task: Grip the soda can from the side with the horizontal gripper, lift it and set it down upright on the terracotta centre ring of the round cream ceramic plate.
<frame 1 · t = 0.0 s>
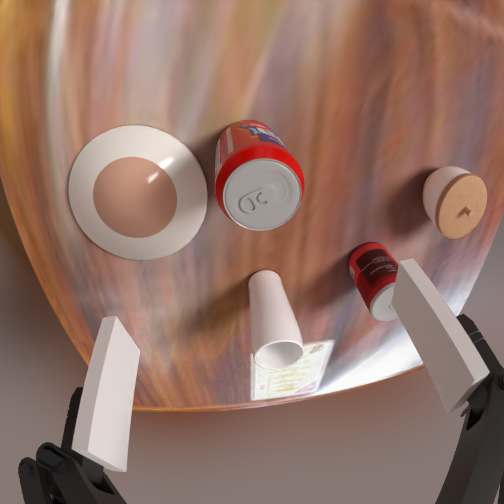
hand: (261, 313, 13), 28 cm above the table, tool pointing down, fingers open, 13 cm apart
cream plate: (135, 196, 38), on the table
soda can: (246, 147, 37), on the table
canned food: (366, 258, 49), on the table
lidded jar: (436, 186, 42), on the table
drinking glass: (264, 280, 49), on the table
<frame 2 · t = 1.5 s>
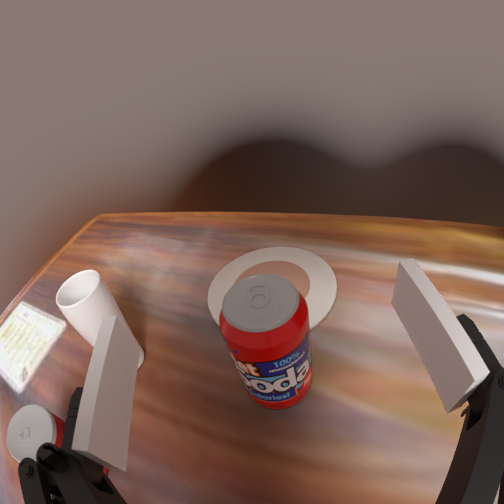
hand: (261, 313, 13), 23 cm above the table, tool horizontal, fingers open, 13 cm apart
cream plate: (271, 290, 47), on the table
soda can: (279, 384, 34), on the table
canned food: (87, 466, 26), on the table
drinking glass: (130, 361, 40), on the table
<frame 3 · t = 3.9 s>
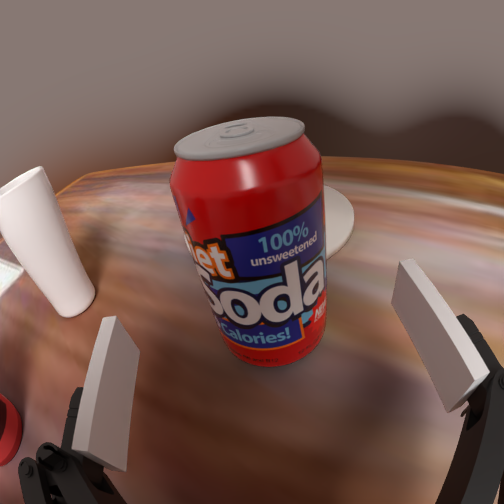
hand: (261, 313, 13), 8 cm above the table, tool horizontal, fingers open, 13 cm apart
cream plate: (268, 221, 36), on the table
soda can: (275, 332, 23), on the table
canned food: (0, 435, 15), on the table
drinking glass: (78, 304, 29), on the table
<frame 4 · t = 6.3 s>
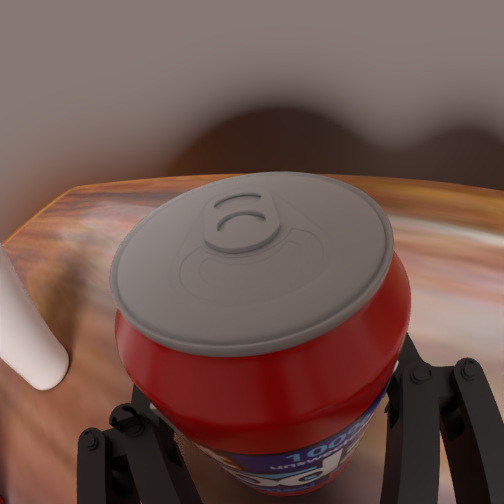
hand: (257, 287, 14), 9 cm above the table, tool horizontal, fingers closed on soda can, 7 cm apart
soda can: (289, 441, 16), on the table, touching gripper
drinking glass: (52, 371, 22), on the table
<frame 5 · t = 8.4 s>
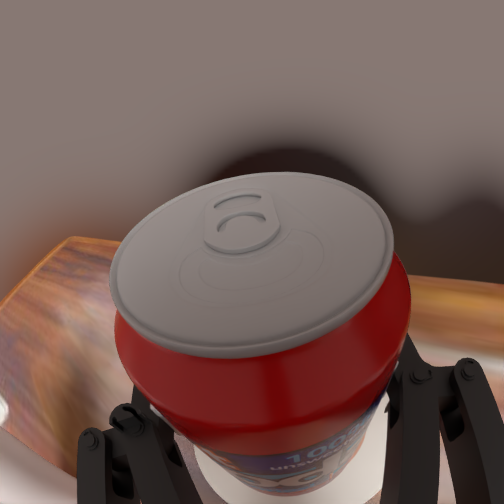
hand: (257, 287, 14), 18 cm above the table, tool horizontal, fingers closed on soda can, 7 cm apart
cream plate: (301, 426, 24), on the table
soda can: (289, 441, 15), point 9 cm above the table, touching gripper
drinking glass: (83, 503, 18), on the table
when the fingers open (11 cm above the table, at t = 10.5 s): soda can drops 1 cm, resting on cream plate.
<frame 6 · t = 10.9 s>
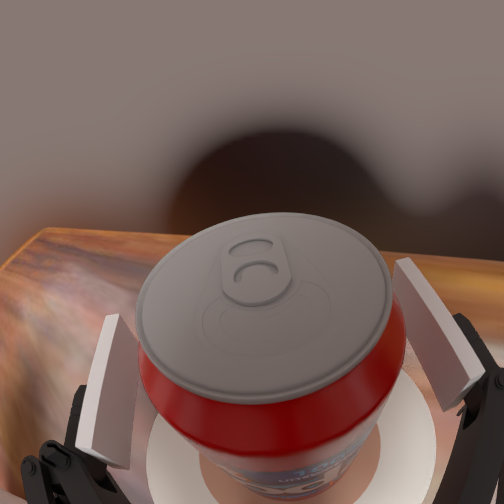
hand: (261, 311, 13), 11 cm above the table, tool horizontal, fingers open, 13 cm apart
cream plate: (289, 450, 17), on the table
soda can: (292, 449, 16), point 1 cm above the table, touching cream plate
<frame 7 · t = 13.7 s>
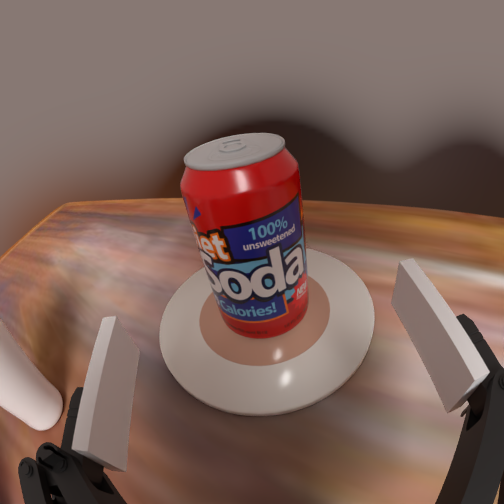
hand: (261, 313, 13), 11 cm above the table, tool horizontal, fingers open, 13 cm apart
cream plate: (265, 317, 28), on the table
soda can: (265, 312, 27), point 1 cm above the table, touching cream plate
drinking glass: (47, 411, 21), on the table
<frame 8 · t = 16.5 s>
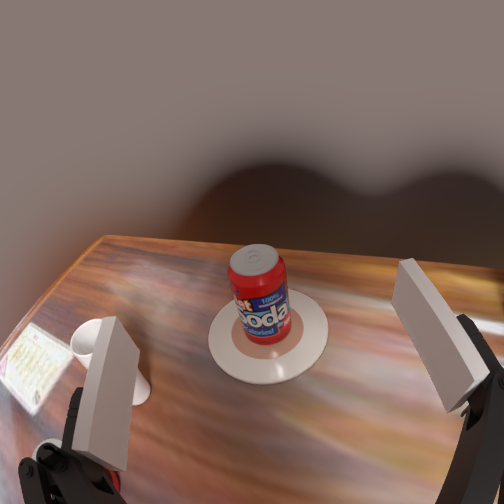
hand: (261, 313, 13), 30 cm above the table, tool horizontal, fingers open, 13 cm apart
cream plate: (267, 332, 49), on the table
soda can: (268, 330, 49), point 1 cm above the table, touching cream plate
canned food: (100, 486, 29), on the table
drinking glass: (138, 393, 42), on the table
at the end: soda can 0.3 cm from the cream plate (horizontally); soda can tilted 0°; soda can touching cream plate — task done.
